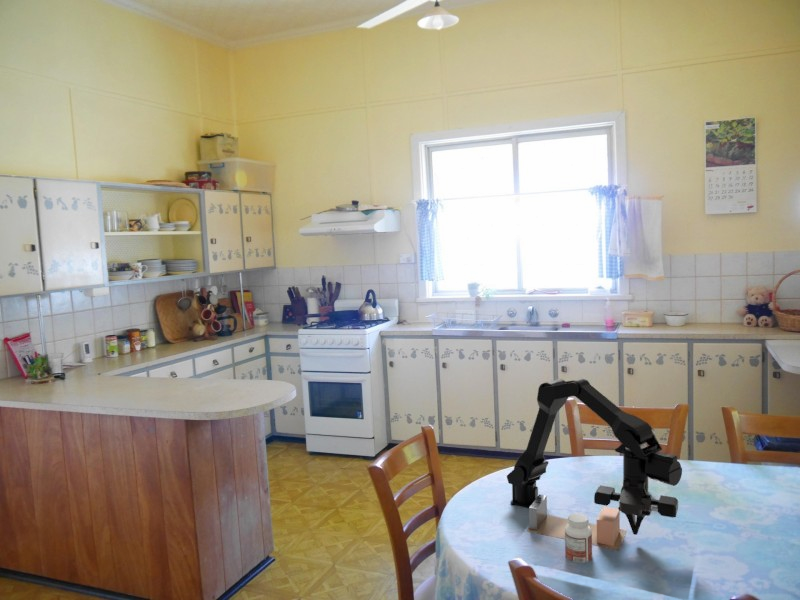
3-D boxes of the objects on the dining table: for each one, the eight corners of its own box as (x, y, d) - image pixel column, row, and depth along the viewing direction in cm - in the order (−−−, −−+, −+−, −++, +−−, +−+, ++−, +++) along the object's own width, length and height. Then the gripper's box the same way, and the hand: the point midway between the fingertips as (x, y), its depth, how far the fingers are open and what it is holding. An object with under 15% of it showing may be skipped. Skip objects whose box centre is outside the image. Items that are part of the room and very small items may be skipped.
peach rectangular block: (596, 542, 155) (596, 519, 155) (603, 528, 162) (603, 506, 161) (613, 546, 153) (613, 522, 153) (619, 531, 160) (619, 509, 160)
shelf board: (526, 536, 163) (526, 530, 163) (539, 518, 172) (539, 513, 172) (618, 556, 151) (618, 550, 151) (626, 535, 161) (626, 530, 161)
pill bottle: (579, 552, 154) (579, 509, 153) (597, 564, 148) (597, 519, 147) (559, 559, 151) (559, 515, 150) (577, 571, 146) (577, 525, 144)
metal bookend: (529, 529, 163) (529, 507, 163) (539, 515, 171) (539, 494, 170) (536, 531, 162) (536, 509, 162) (546, 516, 170) (546, 495, 169)
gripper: (589, 478, 150) (589, 540, 152) (673, 492, 141) (672, 557, 143) (599, 462, 160) (599, 521, 162) (678, 474, 151) (678, 536, 152)
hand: (635, 533), depth 154 cm, fingers closed
